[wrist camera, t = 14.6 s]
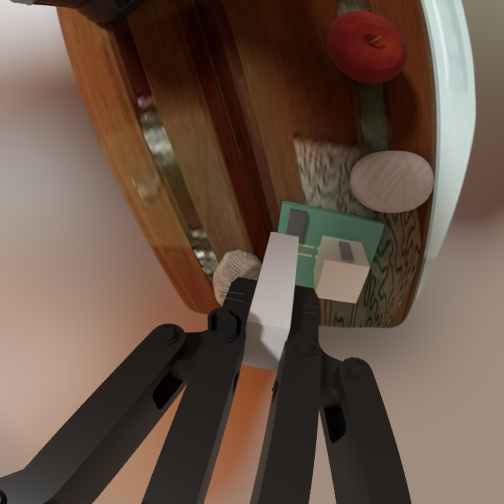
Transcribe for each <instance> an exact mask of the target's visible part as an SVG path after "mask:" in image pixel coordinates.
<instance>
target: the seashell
mask: <svg viewBox="0 0 504 504" xmlns="http://www.w3.org/2000/svg"><path fill="white" fill-rule="evenodd" d="M261 268H262V263H261V261H260V260H259V258H257V257H256V256H255V255H253V254H250V253H246V252H244V251H243V250H236V251H231V252H227V253H226V254H225V256H224V257H223V259H222V260H221V262H220V263H219V265H218V266H217V268H216V271H215V272H214V275H213V285H214V289H215V290H214V292H215V297H216V299H217V300H218V302H219V304H221V307H222V305H223V302H224V300H225V298H226V295H227V292H228V290H229V287H230V285H231V283H232V282H233V281H234V280H235V279H236V278H237V277H242V278H248V279H253V280H257V279H258V278H259V275H260V272H261Z"/></svg>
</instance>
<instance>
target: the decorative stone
mask: <svg viewBox="0 0 504 504" xmlns="http://www.w3.org/2000/svg"><path fill="white" fill-rule="evenodd" d="M433 185H434V176H433V172H432V169H431V167H430V165H429V164H428V162H427V161H426V160H425V159H423V158H422V157H421V156H419V155H417V154H414V153H411V152H405V151H381V152H375V153H372V154H369V155H366V156H364V157H363V158H361V159H360V160H359V161H358V162H357V163H356V164H355V165H354V167H353V169H352V171H351V174H350V187H351V190H352V192H353V194H354V196H355V197H356V198H357V200H358V201H359V202H360V203H362V204H363V205H364V206H366V207H368V208H370V209H372V210H375V211H378V212H384V213H399V212H405V211H409V210H412V209H414V208H416V207H418V206H420V205H421V204H423V203H424V202H425V201H426V200H427V199H428V197H429V196H430V194H431V192H432V189H433Z"/></svg>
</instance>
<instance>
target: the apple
mask: <svg viewBox="0 0 504 504" xmlns="http://www.w3.org/2000/svg"><path fill="white" fill-rule="evenodd" d="M327 48H328V52H329V55H330V57H331V59H332V61H333V62H334V64H335V65H336V67H337V68H338V69H339V70H340V71H341V72H343V73H344V74H345V75H347V76H348V77H350V78H352V79H354V80H356V81H359V82H364V83H380V82H385V81H388V80H390V79H393V78H394V77H395V76H397V75H398V74H399V73H400V72H401V70H402V69H403V67H404V65H405V63H406V58H407V49H406V45H405V42H404V40H403V37H402V36H401V34H400V33H399V31H398V30H397V29H396V28H395V27H394V25H392V24H391V23H390V22H389V21H387V20H386V19H384V18H382V17H381V16H378V15H376V14H373V13H369V12H365V11H352V12H347V13H344V14H342V15H341V16H339V17H338V18H336V19H335V20H334V21H333V23H332V24H331V26H330V28H329V30H328V35H327Z"/></svg>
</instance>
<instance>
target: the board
mask: <svg viewBox="0 0 504 504" xmlns="http://www.w3.org/2000/svg"><path fill="white" fill-rule="evenodd" d="M384 226H385V224H384V222H383V221H380V220H376V219H371V218H367V217H362V216H358V215H353V214H349V213H344V212H339V211H334V210H329V209H324V208H319V207H314V206H309V205H303V204H298V203H293V202H287V201H283V203H282V209H281V216H280V222H279V228H278V233H281V234H286V235H292V236H298V237H299V242H298V254H297V266H296V277H295V285H299V286H304V287H310V288H314V267H315V263H316V259H317V255H318V251H319V247H320V243H321V239H322V235H323V236H329V237H334V238H340V239H345V240H350V241H355V242H361V243H362V245H363V248H364V251H365V254H366V257H367V260H368V263H369V266H370V267H371V264H372V261H373V258H374V256H375V253H376V250H377V247H378V244H379V241H380V238H381V235H382V232H383V229H384Z"/></svg>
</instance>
